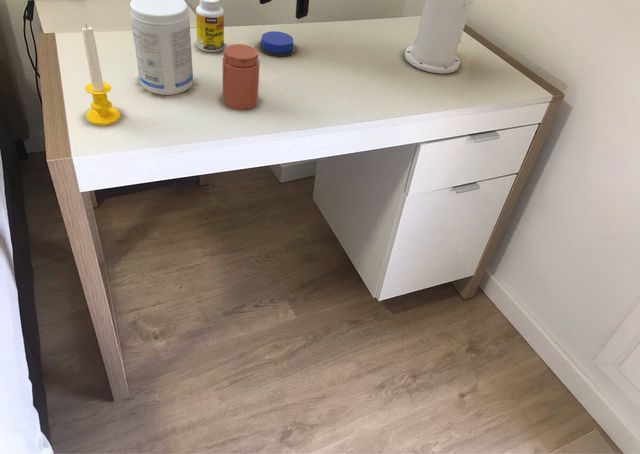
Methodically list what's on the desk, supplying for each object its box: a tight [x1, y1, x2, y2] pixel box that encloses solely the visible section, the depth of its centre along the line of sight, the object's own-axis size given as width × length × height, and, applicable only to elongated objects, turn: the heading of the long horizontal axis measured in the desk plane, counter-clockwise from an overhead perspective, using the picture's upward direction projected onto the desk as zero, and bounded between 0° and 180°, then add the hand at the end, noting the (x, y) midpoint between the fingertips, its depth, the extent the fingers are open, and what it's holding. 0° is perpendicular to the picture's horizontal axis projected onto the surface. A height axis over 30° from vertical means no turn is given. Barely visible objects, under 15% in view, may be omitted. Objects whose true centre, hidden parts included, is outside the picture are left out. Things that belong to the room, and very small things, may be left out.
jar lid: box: [260, 30, 295, 54], centre depth 111 cm, size 7×7×2 cm
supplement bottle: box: [195, 0, 225, 53], centre depth 105 cm, size 6×6×10 cm
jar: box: [222, 43, 261, 111], centre depth 91 cm, size 6×6×10 cm
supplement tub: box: [129, 0, 194, 96], centre depth 90 cm, size 10×10×15 cm
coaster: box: [258, 41, 296, 58], centre depth 112 cm, size 8×8×1 cm
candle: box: [81, 24, 121, 126], centre depth 80 cm, size 5×5×16 cm
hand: (283, 9), depth 106 cm, fingers open, 9 cm apart
